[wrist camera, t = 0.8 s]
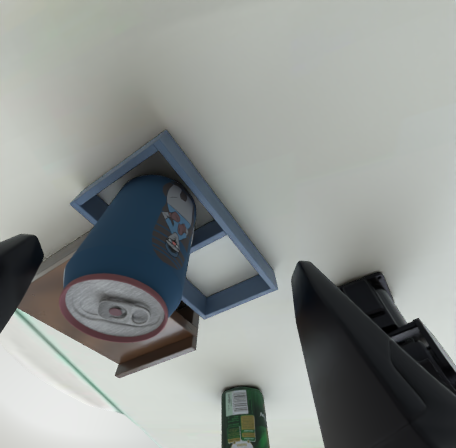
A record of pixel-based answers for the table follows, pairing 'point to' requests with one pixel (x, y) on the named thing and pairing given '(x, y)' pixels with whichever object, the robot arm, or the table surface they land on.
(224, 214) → the blue rack
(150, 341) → the shelf
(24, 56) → the table surface
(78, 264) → the soda can
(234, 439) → the coffee jar
